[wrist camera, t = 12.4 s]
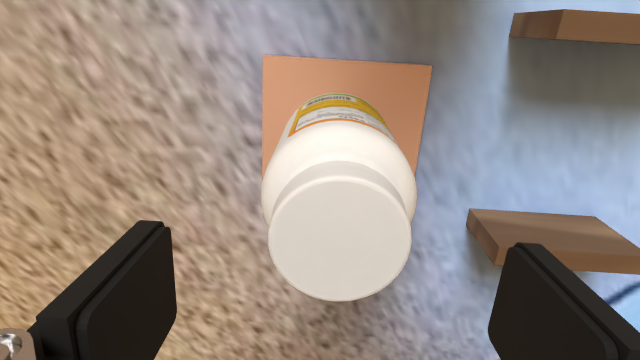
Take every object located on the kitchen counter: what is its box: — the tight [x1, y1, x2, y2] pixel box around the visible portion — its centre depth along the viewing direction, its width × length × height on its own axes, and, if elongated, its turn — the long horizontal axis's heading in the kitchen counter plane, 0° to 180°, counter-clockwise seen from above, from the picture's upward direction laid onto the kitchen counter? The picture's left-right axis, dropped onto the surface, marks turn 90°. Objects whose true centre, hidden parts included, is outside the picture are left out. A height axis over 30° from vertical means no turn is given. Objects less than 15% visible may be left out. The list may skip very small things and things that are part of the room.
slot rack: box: [466, 9, 640, 275], centre depth 18 cm, size 11×7×4 cm, turn 176°
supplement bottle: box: [261, 93, 417, 302], centre depth 15 cm, size 5×5×10 cm
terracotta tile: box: [262, 55, 433, 182], centre depth 20 cm, size 8×8×1 cm
